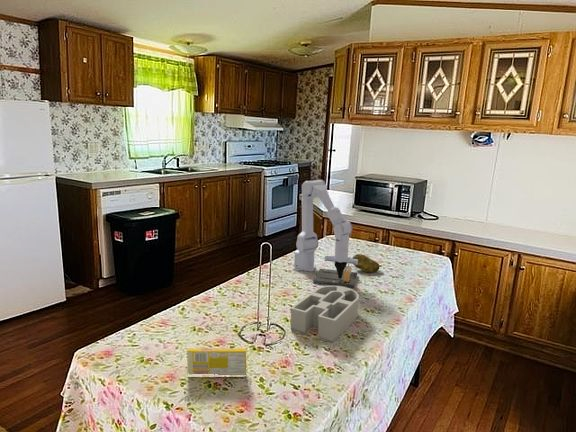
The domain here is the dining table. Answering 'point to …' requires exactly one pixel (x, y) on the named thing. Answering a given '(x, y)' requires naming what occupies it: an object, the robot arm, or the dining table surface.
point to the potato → (366, 263)
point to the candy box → (217, 361)
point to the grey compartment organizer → (326, 312)
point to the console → (334, 278)
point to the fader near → (346, 275)
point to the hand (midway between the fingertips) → (340, 277)
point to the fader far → (348, 267)
